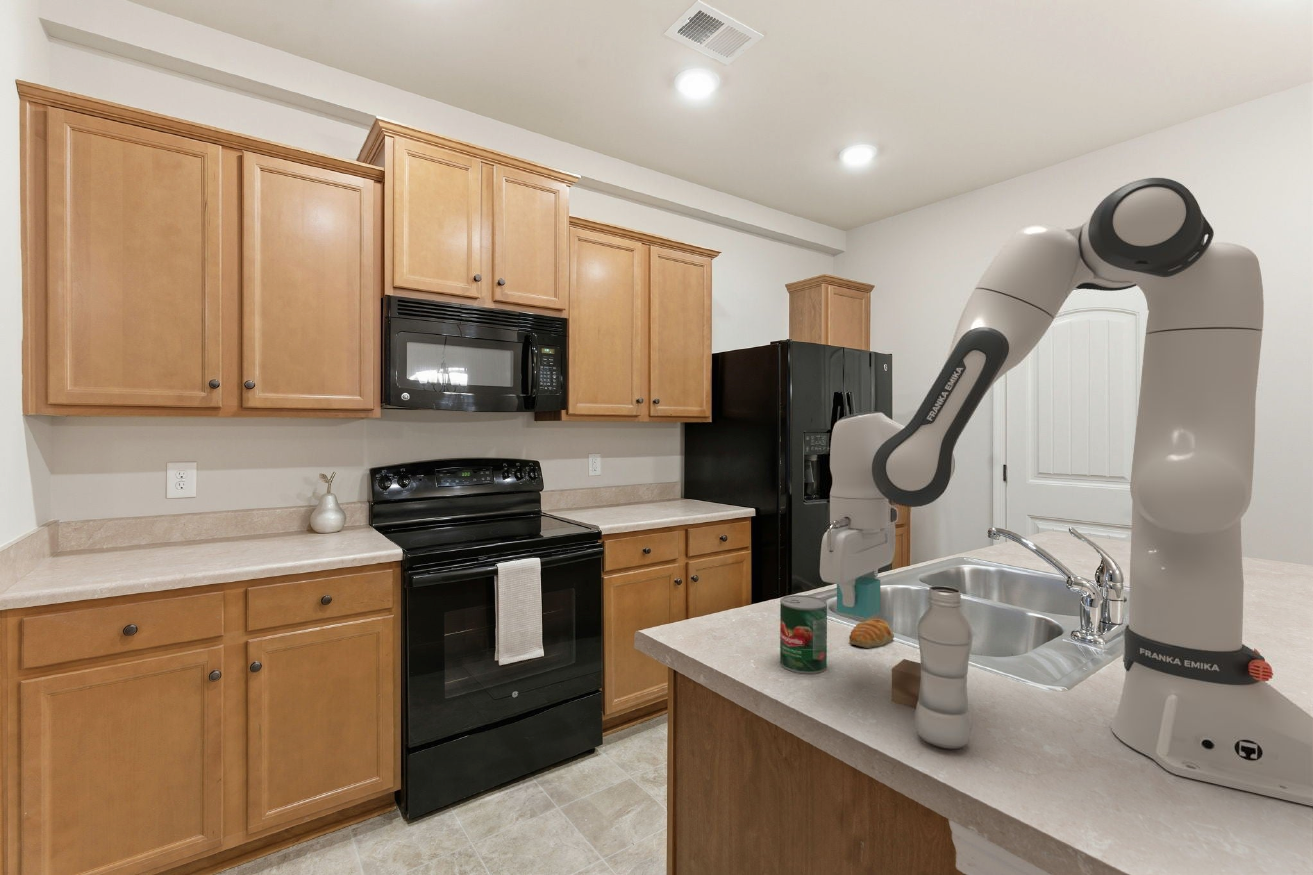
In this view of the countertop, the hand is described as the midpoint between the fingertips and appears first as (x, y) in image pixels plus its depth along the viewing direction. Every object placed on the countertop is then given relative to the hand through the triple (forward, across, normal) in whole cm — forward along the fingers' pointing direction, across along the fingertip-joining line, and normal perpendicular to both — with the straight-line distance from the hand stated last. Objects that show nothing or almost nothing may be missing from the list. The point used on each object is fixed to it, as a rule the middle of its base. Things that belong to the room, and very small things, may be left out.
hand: (858, 601), depth 97 cm
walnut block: (+13, 0, -9) cm, 16 cm away
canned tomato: (+13, +1, +10) cm, 17 cm away
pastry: (+14, +20, +6) cm, 25 cm away
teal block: (+2, 0, 0) cm, 2 cm away
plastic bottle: (+14, -10, -16) cm, 23 cm away
